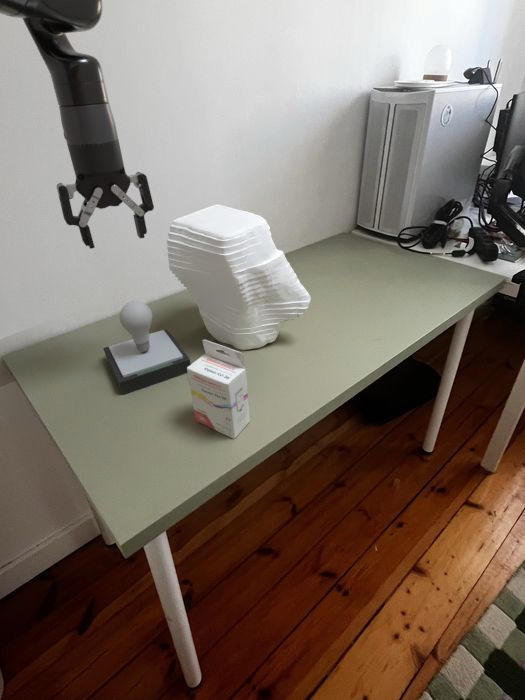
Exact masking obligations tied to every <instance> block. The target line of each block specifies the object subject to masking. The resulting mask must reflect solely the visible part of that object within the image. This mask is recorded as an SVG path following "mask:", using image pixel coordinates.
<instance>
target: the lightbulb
mask: <svg viewBox="0 0 525 700" xmlns="http://www.w3.org/2000/svg"><path fill="white" fill-rule="evenodd" d="M119 322H120V324H121V326H122V327H123V328H124V329H125V330H126V331H127V332H128V333H129V334H130V336H131V338H132V339H133V341H134V342H135V344H136V347H137V350H138V351H140V352H146V351H147V350H149V348H150V344H149V334H150V328H151V325H152V323H153V312H152V310H151V308H150V307H149V306H148V305H147V304H146V303H144V302H143V301H138V300H134V301H133V300H132V301H130V302H127V303H126V304H124V305H123V306H122V308H121V310H120V312H119Z"/></svg>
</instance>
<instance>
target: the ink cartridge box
mask: <svg viewBox="0 0 525 700" xmlns="http://www.w3.org/2000/svg"><path fill="white" fill-rule="evenodd" d="M202 346H203V349H204V353H203V355H201V356H200V357H199V358H197V359H196V360H195V361H194V362H192V363H191V365H190V366H189V367H187V372H188V373H187V376H188V383H189V388H190V395H191V401H192V406H193V413H194V417H195V422H197V423H199V424H201V425H204V426H205V427H207V428H210V429H212V430H213V431H216V432H218V433H220V434H223V435H224V436H227V437H229V438H231V439H234V440H235V439H236V438H237V437H238V436H239V435H240V434H241V433H242V432H243V430H244V429H245V428H246V427H247V426H248V424H250V421H251V420H250V419H251V417H250V407H249V395H248V394H249V393H248V384H247V370H246V367H245V361H244V355H243V353H242V352H241V351H239V350H235V349H233V348H230V347H227V346H225V345H221V344H219V343H216V342H213V341H211V340H208V339H202ZM219 351H223V352H224V353H225V354H223V353H221V352H219ZM226 354H228V355H226Z"/></svg>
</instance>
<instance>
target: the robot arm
mask: <svg viewBox="0 0 525 700" xmlns="http://www.w3.org/2000/svg"><path fill="white" fill-rule="evenodd" d="M103 7H104V5H103V0H0V14H1V15H4V16H7V17H11V18H17V19H22V21H23V23H24V25H25V26H26V28H27V30H28V33H29V35H30V36H31V38H32V41H33V42H34V44H35V46H36V49H37V50H38V52H39V54H40V56H41V58H42V60H43V62H44V65H45V66H46V68H47V71H48V73H49V74H50V78H51V82H52V86H53V89H54V93H55V98H56V101H57V105H58V108H59V115H60V122H61V127H62V130H63V137H64V139H65V141H66V145H67V149H68V154H69V156H70V160H71V163H72V168H73V171H74V175H75V182H74V183H69V184H68V183H67V184H64V183H62V182H59V183H57V185H56V190H57V194H58V199H59V203H60V204H59V205H60V208H61V212H62V216H63V220H64V221H65V223H66V225H67V226H75V227H78V229H79V233H80V236H81V240H82V243H83V244H84V245H85V246H86V247H89V249H90V250H91V249H95V244H94V243H95V242H94V240H93V236H92V232H91V229H90V226H89V224H88V223H89V222H90V219H91V217H92V216H93V214H94V212H95V211H96V208H97V209H99V210H103V209H106V208H109V207H119V206H120V205H121V204H122V203H124V204H125V205H126V206H127V207H128V208H129V209H130V210H131V211H133V213H134V214H133V215H132V216H133V220H134V227H135V230H136V234H137V237H138V238H139V239H144V238H145V235H147V233H148V229H147V223H146V219H145V215H146V214H147V213H148V212H152V211H154V209H155V206H154V202H153V197H152V193H151V189H150V185H149V181H148V176H147V175H146V174H145V173H143V172H141V171H137V172H135V174H131V175H130V174H129V175H128V174H127V173H126V169H125V164H124V158H123V154H122V150H121V144H120V140H119V135H118V130H117V126H116V121H115V117H114V113H113V110H112V107H111V104H110V101H109V96H108V92H107V87H106V82H105V77H104V74H103V68H102V66H101V63H100V62H99V60H98V59H97V58H96V57H95V56H93V55H90V54H87V53H82V52H78V51H76V50H75V48H74V47H73V45H72V43H71V42H70V40H69V37H68V35H67V34H71V33H82V32H88V31H91V30H92V29H94V28H96V26H97V25H99V23H100V21H101V20H102V19H101V18H102V15H103ZM131 184H133V186H134V187H135V188H137V189H138V192H139V195H140V199H141V204H139V205H138V204H137V203H136V201H134V200H133V199H132V198H131V197H130V196H129V195H128V194H127V193H128V190H129V188H130V186H131ZM75 192H77V193H78V194H79V195H80V196H82V197H83V198H84V199H83V201H82V203H81V205H80V209H79V212H78V214H77V215H74V213H73V210H72V204H71V200H72V199H74V194H75Z"/></svg>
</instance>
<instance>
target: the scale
mask: <svg viewBox="0 0 525 700" xmlns="http://www.w3.org/2000/svg"><path fill="white" fill-rule="evenodd" d="M149 344H150V348H149V350H147V351H146V352H140V351H138V350H137V347H136V344H135V342H134V341H133V338H132V339H129V340H125V341H121V342H118V343H115V344H111V345H108V346H105V347H103V349H102V350H103V351H104V356H105V359H106V361H107V363H108V366H109V368H110V370H111V373H112V374H113V376H114V379H115V381H116V383H117V385H118V387H119V389H120V392H121V394H122V396H124V395H127V394H130V393H134V392H136V391H138V390H141V389H144V388H147V387H151V386H153V385H156V384H159V383H161V382H165V381H167V380H170V379H173V378H176V377H179V376H182V375H184V374H188V372H187V367H189V366H190V365H191V364H192V363H191V358H190V357H189V356H188V355H187V353H186V351H184V349H183V348H182V347H181V346H180V344H179V342H178V341H177V339H176V338H175V337H174V336H173V335H172V333H171V332H170V330H169V329H168V328H165V329H162V330H159V331H155V332H151V333H149Z"/></svg>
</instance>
